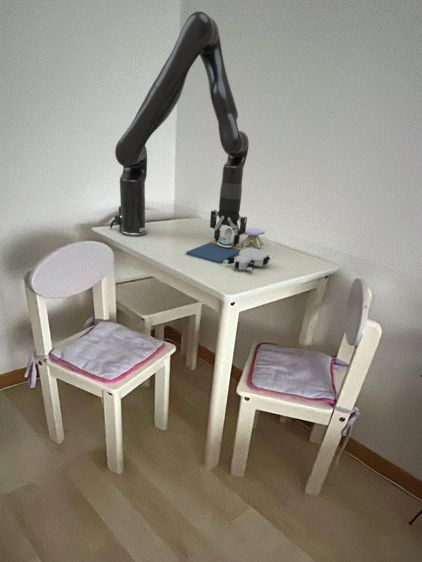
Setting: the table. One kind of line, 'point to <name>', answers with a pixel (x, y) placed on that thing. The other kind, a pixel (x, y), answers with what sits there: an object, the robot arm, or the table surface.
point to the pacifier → (226, 239)
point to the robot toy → (249, 259)
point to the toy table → (253, 236)
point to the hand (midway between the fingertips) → (226, 242)
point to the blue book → (214, 252)
